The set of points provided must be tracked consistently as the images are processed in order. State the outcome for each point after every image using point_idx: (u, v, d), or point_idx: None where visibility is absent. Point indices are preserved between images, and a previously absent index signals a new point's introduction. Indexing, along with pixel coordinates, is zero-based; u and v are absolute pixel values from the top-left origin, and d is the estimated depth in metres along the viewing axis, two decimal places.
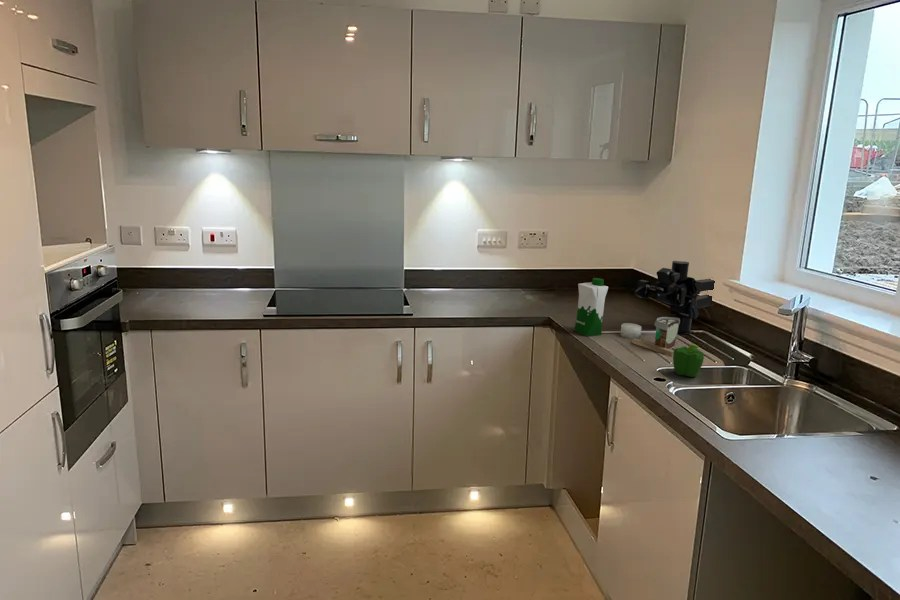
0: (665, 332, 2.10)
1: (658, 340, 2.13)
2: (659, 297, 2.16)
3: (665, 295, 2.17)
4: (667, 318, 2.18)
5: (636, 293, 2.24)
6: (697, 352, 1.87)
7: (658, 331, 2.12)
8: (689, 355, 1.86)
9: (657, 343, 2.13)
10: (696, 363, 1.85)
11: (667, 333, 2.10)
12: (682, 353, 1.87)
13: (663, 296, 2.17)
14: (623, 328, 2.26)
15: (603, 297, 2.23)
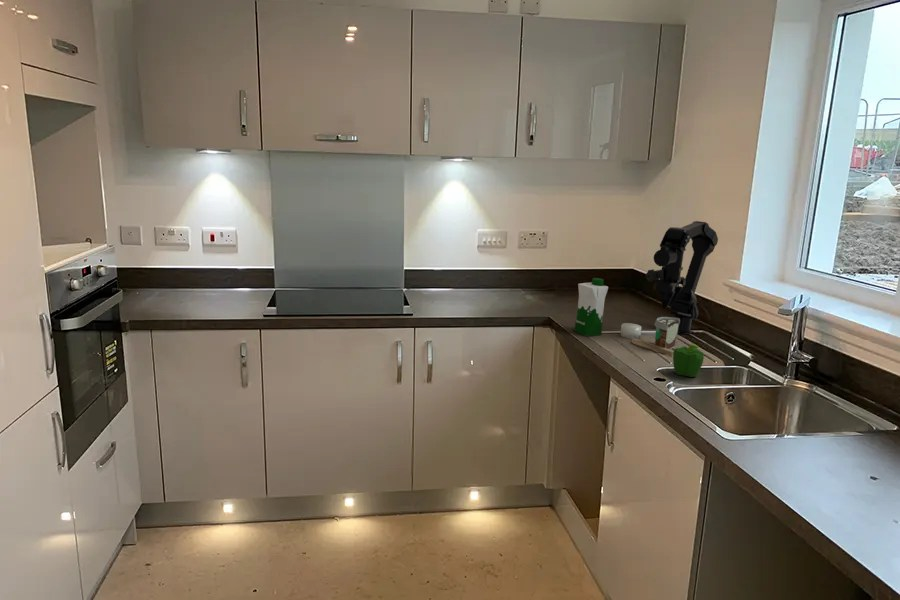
0: (665, 332, 2.10)
1: (658, 340, 2.13)
2: (664, 306, 2.21)
3: (663, 299, 2.20)
4: (667, 318, 2.18)
5: (670, 303, 2.26)
6: (697, 352, 1.87)
7: (658, 331, 2.12)
8: (689, 355, 1.86)
9: (657, 343, 2.13)
10: (696, 363, 1.85)
11: (667, 333, 2.10)
12: (682, 353, 1.87)
13: (663, 301, 2.20)
14: (623, 328, 2.26)
15: (603, 297, 2.23)
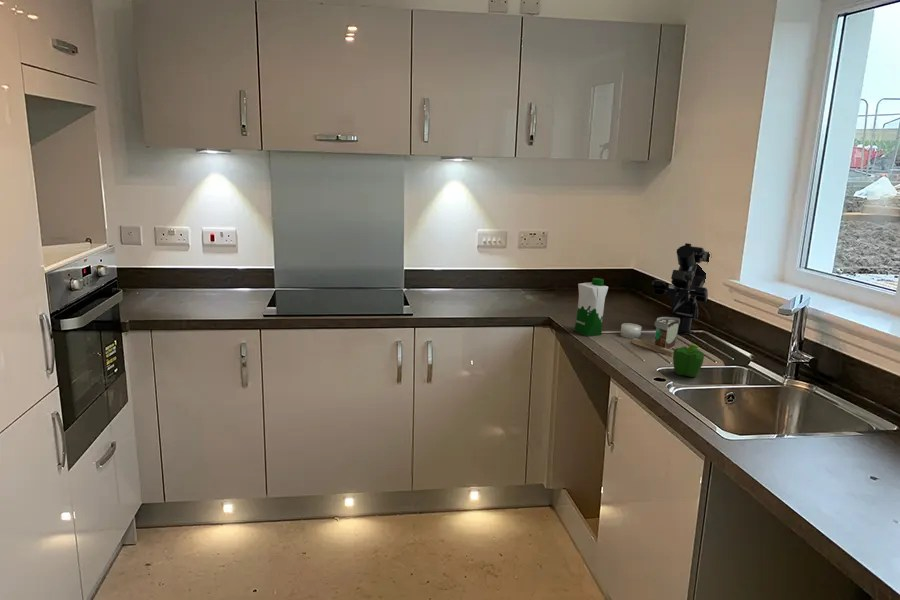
0: (665, 332, 2.10)
1: (658, 340, 2.13)
2: (675, 308, 2.20)
3: (678, 302, 2.21)
4: (667, 318, 2.18)
5: None
6: (697, 352, 1.87)
7: (658, 331, 2.12)
8: (689, 355, 1.86)
9: (657, 343, 2.13)
10: (696, 363, 1.85)
11: (667, 333, 2.10)
12: (682, 353, 1.87)
13: (677, 304, 2.21)
14: (623, 328, 2.26)
15: (603, 297, 2.23)
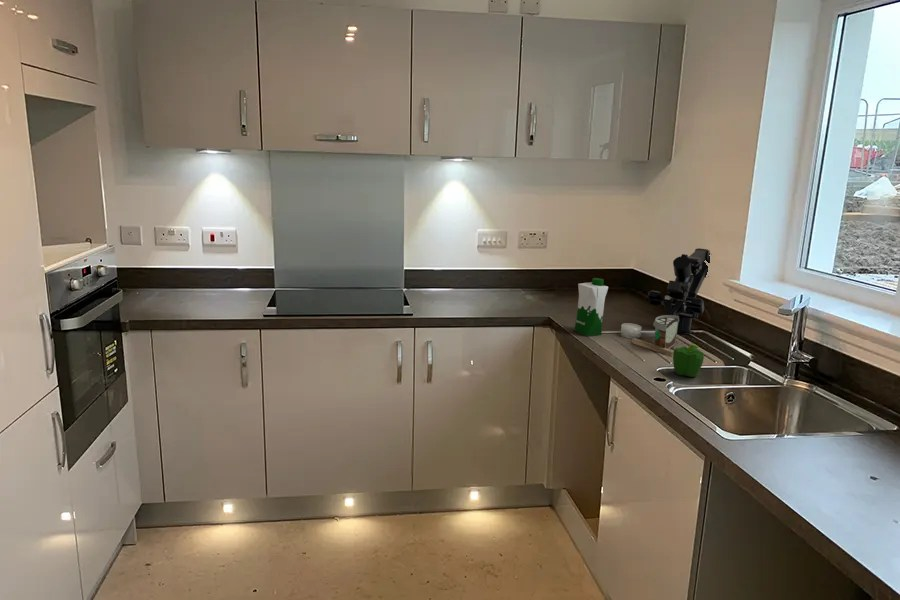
0: (664, 333, 2.09)
1: (658, 340, 2.12)
2: None
3: (674, 313, 2.19)
4: (666, 316, 2.17)
5: None
6: (697, 352, 1.87)
7: (657, 331, 2.12)
8: (689, 355, 1.86)
9: (657, 343, 2.13)
10: (695, 363, 1.85)
11: (666, 333, 2.10)
12: (682, 353, 1.87)
13: (673, 315, 2.19)
14: (623, 328, 2.26)
15: (603, 297, 2.23)
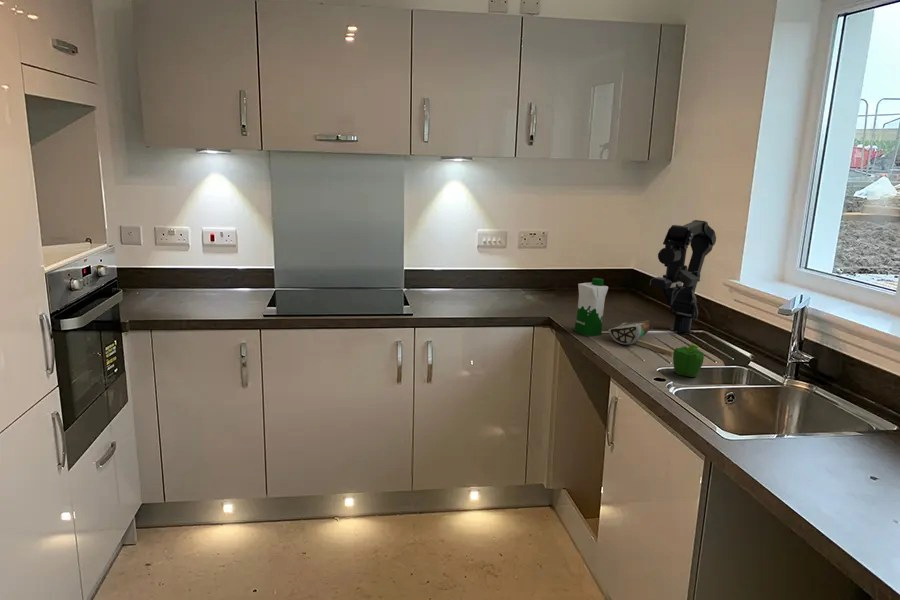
0: (640, 326, 2.13)
1: (644, 330, 2.16)
2: None
3: None
4: (615, 339, 2.19)
5: None
6: (697, 352, 1.87)
7: None
8: (689, 355, 1.86)
9: (645, 330, 2.17)
10: (696, 363, 1.85)
11: (638, 325, 2.14)
12: (682, 353, 1.87)
13: None
14: None
15: (603, 297, 2.23)
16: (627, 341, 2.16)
